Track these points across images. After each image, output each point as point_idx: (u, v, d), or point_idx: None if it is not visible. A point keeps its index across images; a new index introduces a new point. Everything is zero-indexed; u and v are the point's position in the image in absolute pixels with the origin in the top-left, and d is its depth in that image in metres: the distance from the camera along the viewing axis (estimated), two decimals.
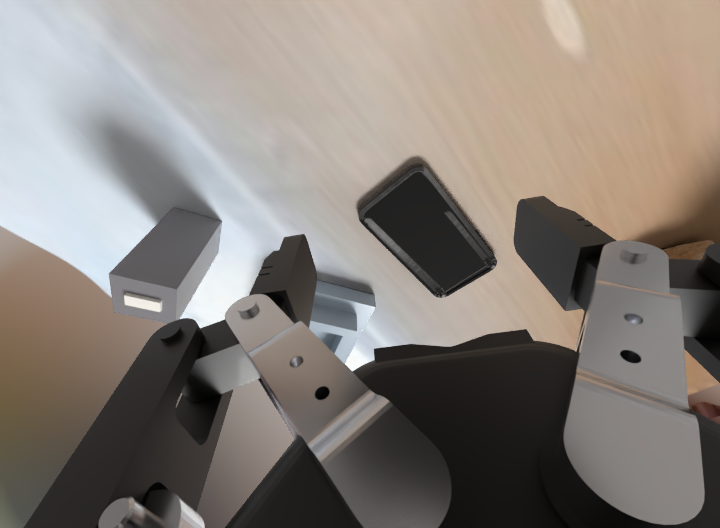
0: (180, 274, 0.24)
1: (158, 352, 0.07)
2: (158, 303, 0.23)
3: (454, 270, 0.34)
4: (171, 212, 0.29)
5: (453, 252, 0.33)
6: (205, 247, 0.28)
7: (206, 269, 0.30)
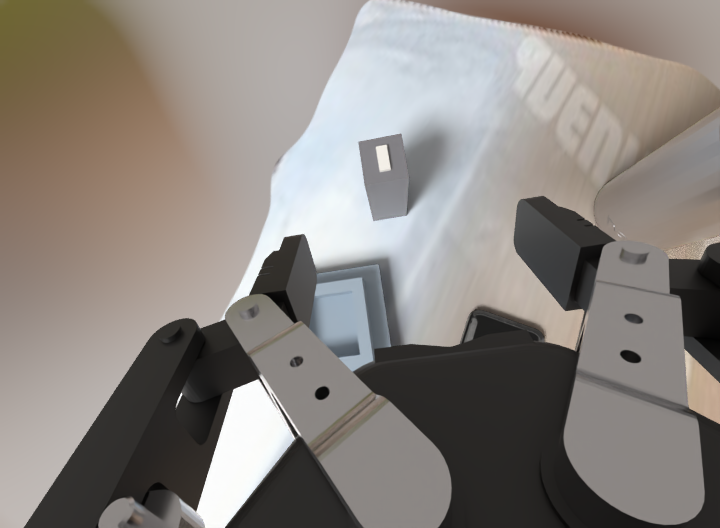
0: None
1: (158, 352, 0.07)
2: (389, 167, 0.28)
3: None
4: None
5: None
6: (405, 202, 0.34)
7: (375, 210, 0.35)
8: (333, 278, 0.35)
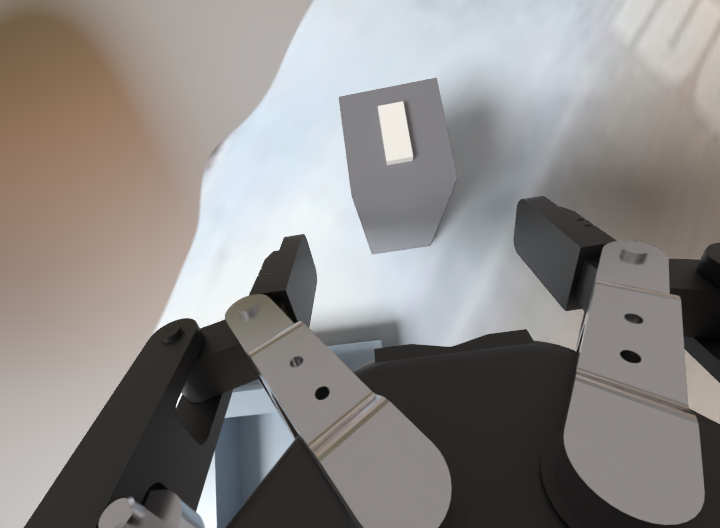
0: None
1: (158, 352, 0.07)
2: (410, 154, 0.12)
3: None
4: None
5: None
6: (434, 226, 0.17)
7: (375, 240, 0.18)
8: None
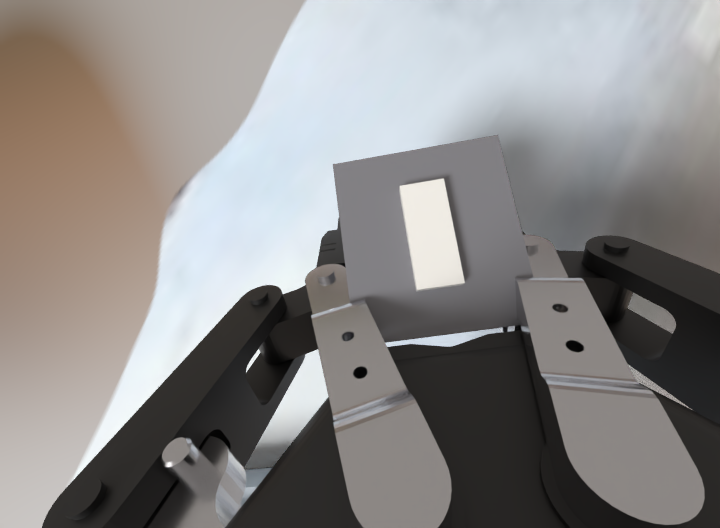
0: None
1: (245, 312, 0.08)
2: (460, 278, 0.07)
3: None
4: None
5: None
6: None
7: None
8: None
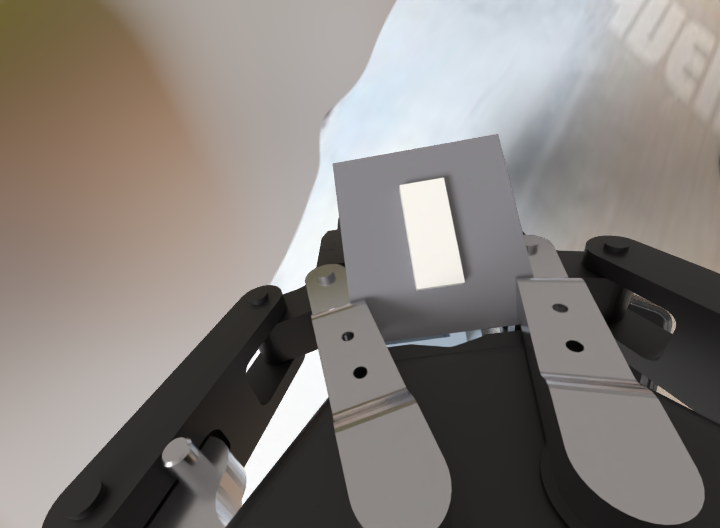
0: None
1: (245, 312, 0.08)
2: (460, 277, 0.07)
3: None
4: None
5: None
6: None
7: None
8: None
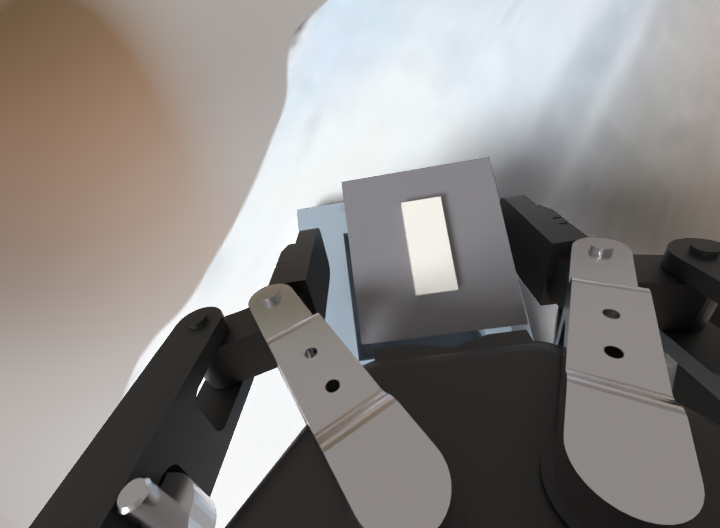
0: None
1: (184, 338, 0.08)
2: (454, 285, 0.08)
3: None
4: None
5: None
6: None
7: None
8: None
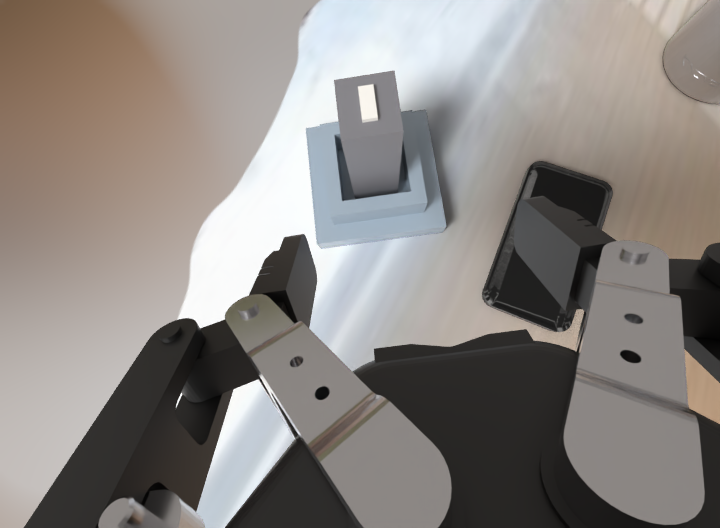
0: None
1: (158, 352, 0.07)
2: (376, 116, 0.20)
3: (529, 290, 0.29)
4: None
5: None
6: (397, 172, 0.25)
7: (357, 183, 0.27)
8: None
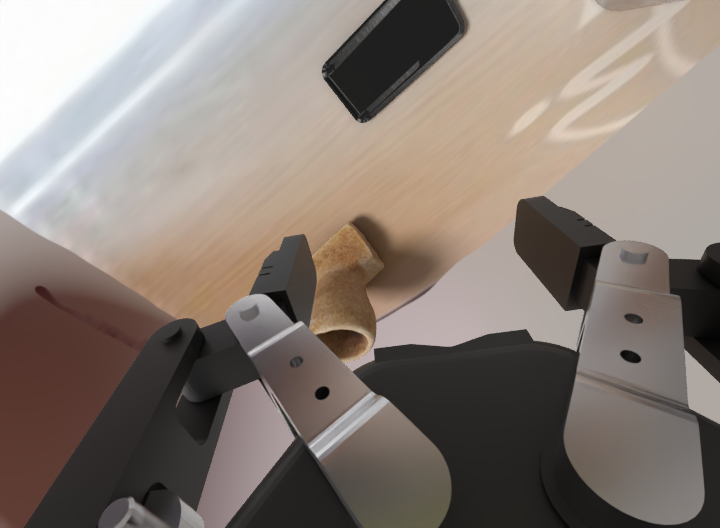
0: None
1: (158, 352, 0.07)
2: None
3: (356, 81, 0.37)
4: None
5: (376, 76, 0.36)
6: None
7: None
8: None
